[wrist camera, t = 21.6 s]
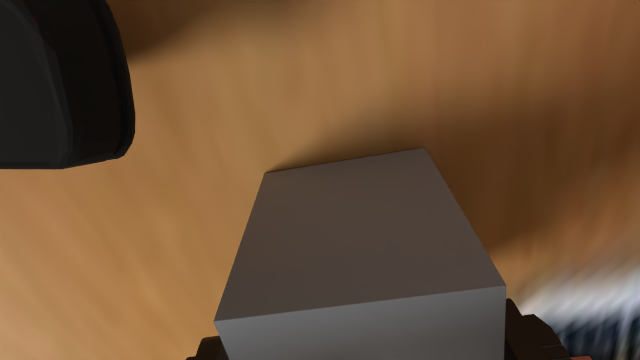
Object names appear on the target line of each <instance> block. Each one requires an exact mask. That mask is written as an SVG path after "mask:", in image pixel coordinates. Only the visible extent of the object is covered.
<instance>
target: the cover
mask: <svg viewBox="0 0 640 360" xmlns="http://www.w3.org/2000/svg"><path fill="white" fill-rule="evenodd" d="M505 310H506V284H505V282H504V281H503V279H502V277H501V276H500V274H499V272H498V271H497V269H496V267H495V265H494V264H493V262H492V260H491V259H490V257H489V255H488V254H487V252H486V250H485V248H484V247H483V245H482V243H481V242H480V240H479V238H478V237H477V235H476V233H475V231H474V230H473V228H472V226H471V225H470V223H469V221H468V220H467V218H466V216H465V214H464V213H463V211H462V209H461V208H460V206H459V204H458V203H457V201H456V199H455V197H454V196H453V194H452V192H451V191H450V189H449V187H448V186H447V184H446V182H445V180H444V179H443V177H442V175H441V174H440V172H439V170H438V169H437V167H436V165H435V164H434V162H433V160H432V158H431V157H430V155H429V153H428V152H427V150H426V148H425V147H424V148H418V149H412V150H406V151H400V152H393V153H387V154H381V155H375V156H368V157H362V158H356V159H350V160H344V161H337V162H331V163H325V164H319V165H312V166H306V167H300V168H294V169H288V170H281V171H275V172H269V173H265V174H264V176H263V179H262V182H261V185H260V188H259V191H258V194H257V197H256V200H255V203H254V206H253V208H252V211H251V214H250V217H249V220H248V223H247V226H246V229H245V232H244V235H243V237H242V240H241V243H240V246H239V249H238V252H237V255H236V258H235V261H234V264H233V266H232V269H231V272H230V275H229V278H228V281H227V284H226V287H225V290H224V293H223V296H222V298H221V301H220V304H219V307H218V310H217V313H216V316H215V319H214V324H215V326H216V329H217V331H218V333H219V336H220V338H221V341H222V343H223V345H224V348H225V350H226V353H227V355H228V357H229V360H504V341H505Z"/></svg>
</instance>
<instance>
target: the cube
mask: <svg viewBox="0 0 640 360" xmlns="http://www.w3.org/2000/svg"><path fill="white" fill-rule="evenodd" d="M571 360H592V359H591V358H590V356H581V357H571Z"/></svg>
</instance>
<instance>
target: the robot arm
mask: <svg viewBox="0 0 640 360" xmlns="http://www.w3.org/2000/svg"><path fill="white" fill-rule="evenodd" d="M186 360H229V357H228V355H227V353H226V350H225V348H224V345H223V343H222V341H221V338H220V336H213V337H206V338H203V339H202V340H201V343H200V345H199V348H198V351H197V354H196V356H195V357H188V358H187V359H186ZM504 360H571V357H570V355H569V353H568V352H567V350H566V349H565V348H564V346H562V344H561V342H560V340H559V339H558V337H557V336H556V334H555V333H554V331H553V330H552V328H551V327H550V326H549V325H547V324H546V323H545V322H543V321H542V320H541V319H539V318H538V317H537V316H536V315H534V314H531V315H523V316H522V315H521V313H520V312H519V310H518V308H517V307H516V305H515V303H514V302H513V301H512V300H511V299H510V298H508V299H506V310H505V341H504Z"/></svg>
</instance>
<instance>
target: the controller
mask: <svg viewBox="0 0 640 360" xmlns="http://www.w3.org/2000/svg"><path fill="white" fill-rule="evenodd" d="M134 134H135V108H134V101H133V94H132V87H131V80H130V73H129V69H128V65H127V61H126V57H125V53H124V49H123V44H122V40H121V36H120V32H119V29H118V26H117V24H116V22H115V19H114V17H113V15H112V12H111V10H110V8H109V5H108V4H107V2H106V1H105V0H0V169H65V168H71V167H76V166H81V165H87V164H92V163H98V162H103V161H106V160H111V159H118V158H120V157H122V156H124V155H125V153H126V152H127V150H128V149H129V147H130V146H131V144H132V141H133V138H134Z"/></svg>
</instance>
